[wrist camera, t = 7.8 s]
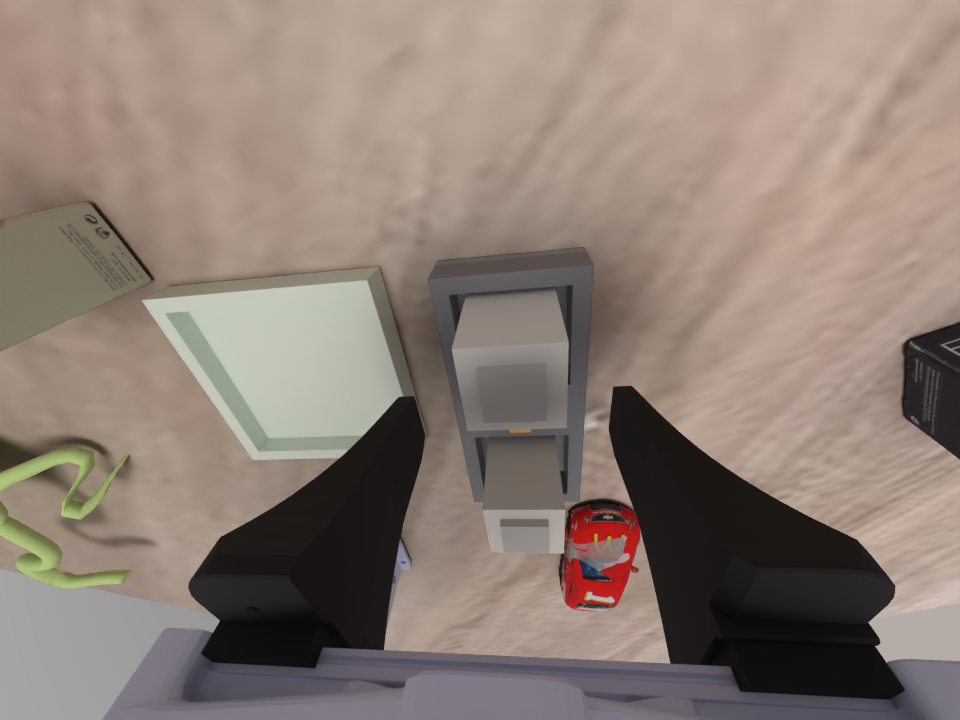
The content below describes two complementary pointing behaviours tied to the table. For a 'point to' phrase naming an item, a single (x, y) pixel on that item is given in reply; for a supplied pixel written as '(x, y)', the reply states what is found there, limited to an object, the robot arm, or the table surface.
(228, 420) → the tray
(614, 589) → the race car
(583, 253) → the strip
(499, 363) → the plug
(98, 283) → the skincare box
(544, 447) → the twin plug
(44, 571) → the figurine
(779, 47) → the table surface
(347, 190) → the table surface
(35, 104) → the table surface
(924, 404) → the small box
